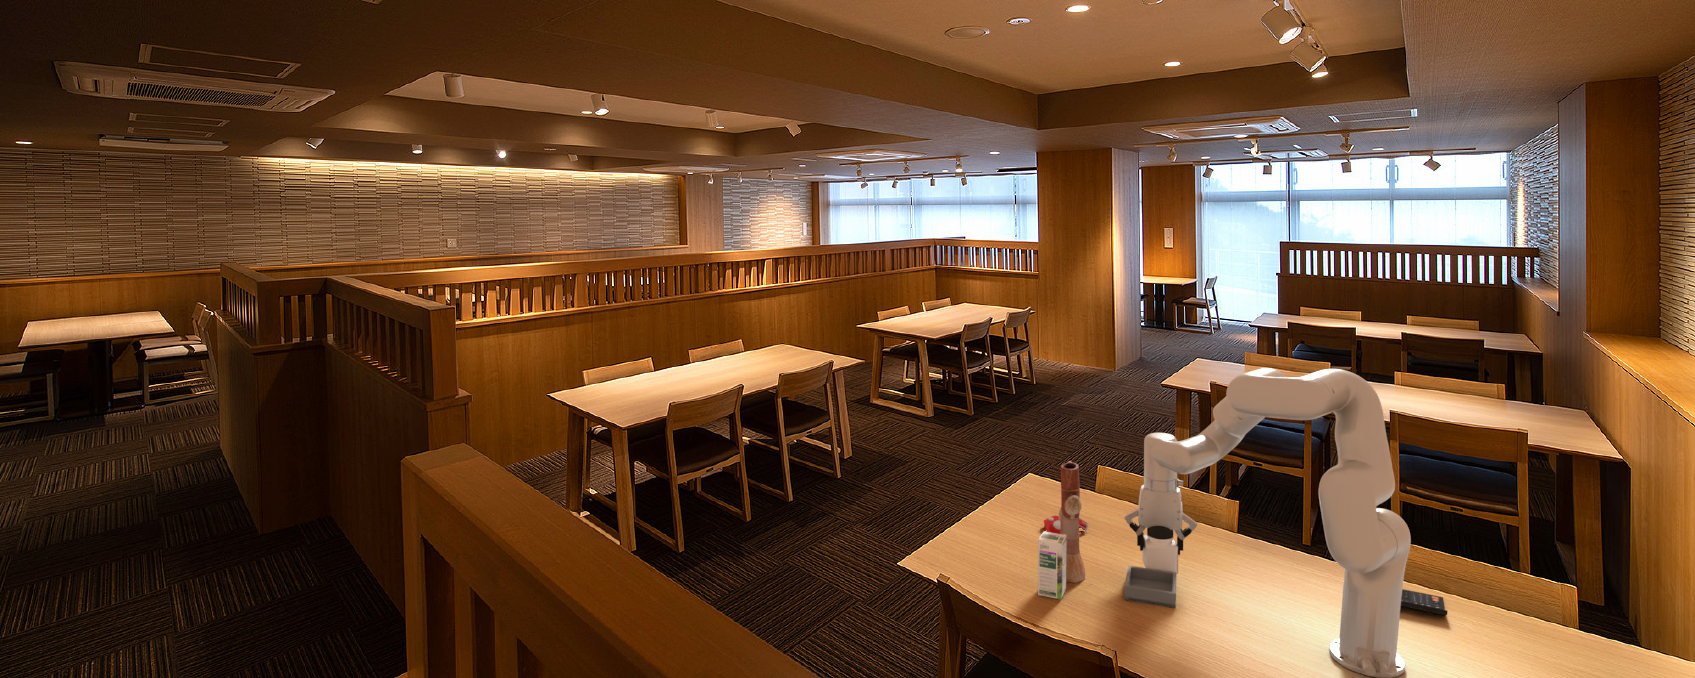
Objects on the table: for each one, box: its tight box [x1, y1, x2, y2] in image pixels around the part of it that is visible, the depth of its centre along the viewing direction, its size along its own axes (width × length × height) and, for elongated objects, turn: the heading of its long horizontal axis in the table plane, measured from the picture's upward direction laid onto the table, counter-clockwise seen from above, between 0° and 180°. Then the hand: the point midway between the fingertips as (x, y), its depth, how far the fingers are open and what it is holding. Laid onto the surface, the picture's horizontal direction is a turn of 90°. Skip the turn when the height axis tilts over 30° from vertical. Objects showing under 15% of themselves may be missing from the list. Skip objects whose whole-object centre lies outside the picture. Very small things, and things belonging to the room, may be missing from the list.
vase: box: [1058, 460, 1086, 583], centre depth 190 cm, size 11×7×30 cm
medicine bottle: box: [1142, 526, 1179, 575], centre depth 191 cm, size 7×7×12 cm
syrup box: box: [1037, 530, 1067, 601], centre depth 184 cm, size 6×6×14 cm
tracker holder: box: [1043, 515, 1090, 534], centre depth 220 cm, size 12×4×10 cm
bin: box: [1124, 565, 1178, 609], centre depth 183 cm, size 11×11×4 cm
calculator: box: [1401, 588, 1448, 616], centre depth 173 cm, size 9×12×3 cm
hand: (1160, 550), depth 191 cm, fingers closed on medicine bottle, 8 cm apart
